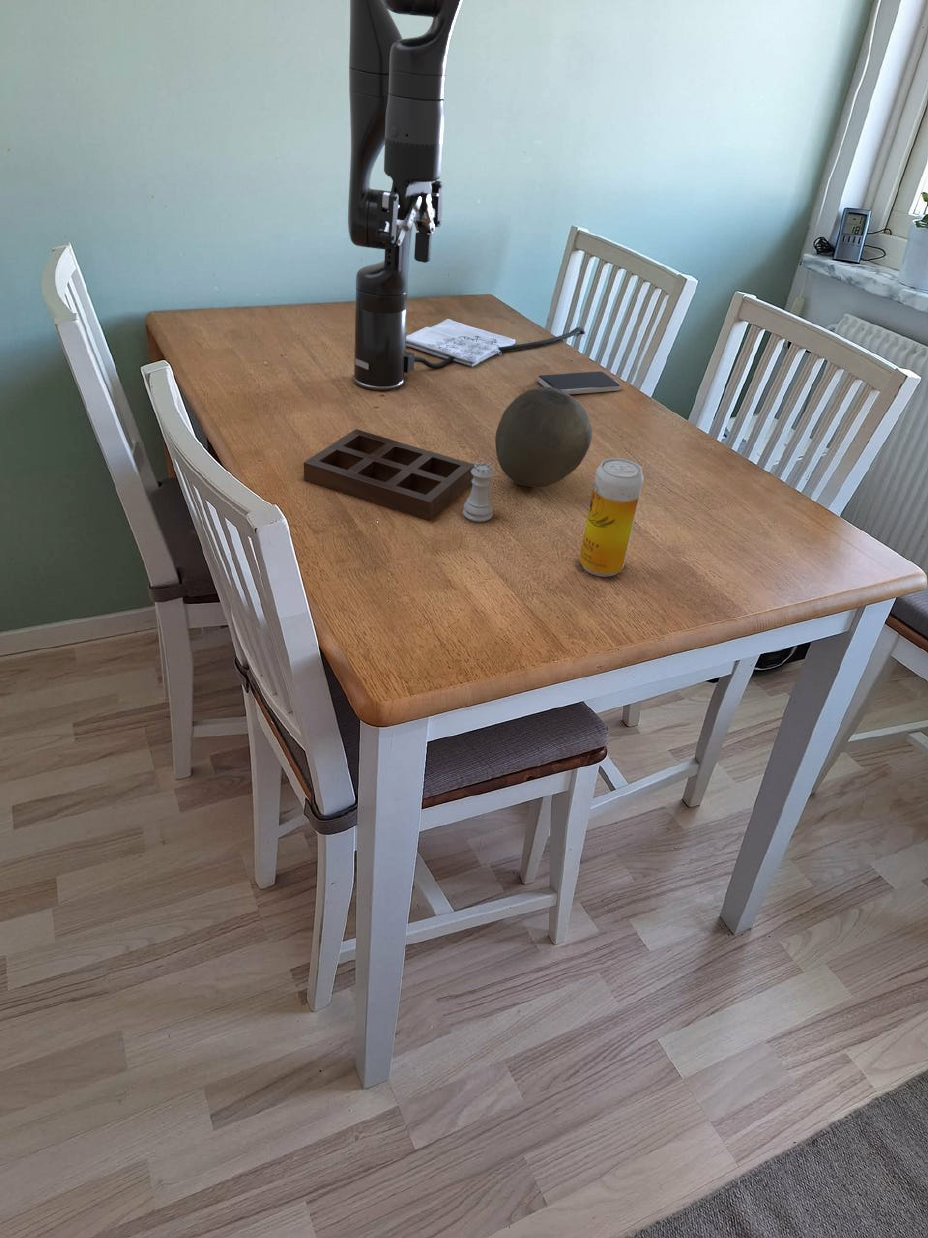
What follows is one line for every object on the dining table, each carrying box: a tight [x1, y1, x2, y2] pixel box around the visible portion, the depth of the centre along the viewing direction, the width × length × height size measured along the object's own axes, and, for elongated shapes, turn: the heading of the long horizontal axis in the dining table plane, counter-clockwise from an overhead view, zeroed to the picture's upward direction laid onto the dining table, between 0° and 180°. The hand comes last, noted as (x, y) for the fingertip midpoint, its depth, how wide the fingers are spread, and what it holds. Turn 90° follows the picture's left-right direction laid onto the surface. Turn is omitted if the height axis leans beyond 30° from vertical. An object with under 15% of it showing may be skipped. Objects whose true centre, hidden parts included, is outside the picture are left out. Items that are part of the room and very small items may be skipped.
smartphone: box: [537, 371, 622, 395], centre depth 177 cm, size 8×1×15 cm
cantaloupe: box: [494, 386, 593, 488], centre depth 136 cm, size 14×14×15 cm
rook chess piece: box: [462, 461, 495, 523], centre depth 128 cm, size 4×4×8 cm
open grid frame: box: [303, 428, 476, 521], centre depth 136 cm, size 15×21×3 cm
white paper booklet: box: [406, 318, 516, 368], centre depth 189 cm, size 19×20×2 cm
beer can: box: [579, 457, 644, 578], centre depth 118 cm, size 6×6×15 cm
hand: (407, 266), depth 124 cm, fingers open, 8 cm apart
